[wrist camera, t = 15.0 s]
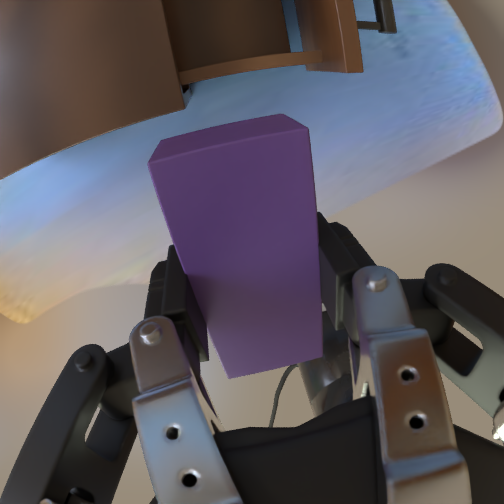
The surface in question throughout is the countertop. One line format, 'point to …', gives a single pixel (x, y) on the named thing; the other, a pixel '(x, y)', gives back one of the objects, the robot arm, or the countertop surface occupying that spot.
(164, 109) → the cabinet
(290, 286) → the purple rectangular block
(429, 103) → the countertop surface
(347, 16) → the drawer
